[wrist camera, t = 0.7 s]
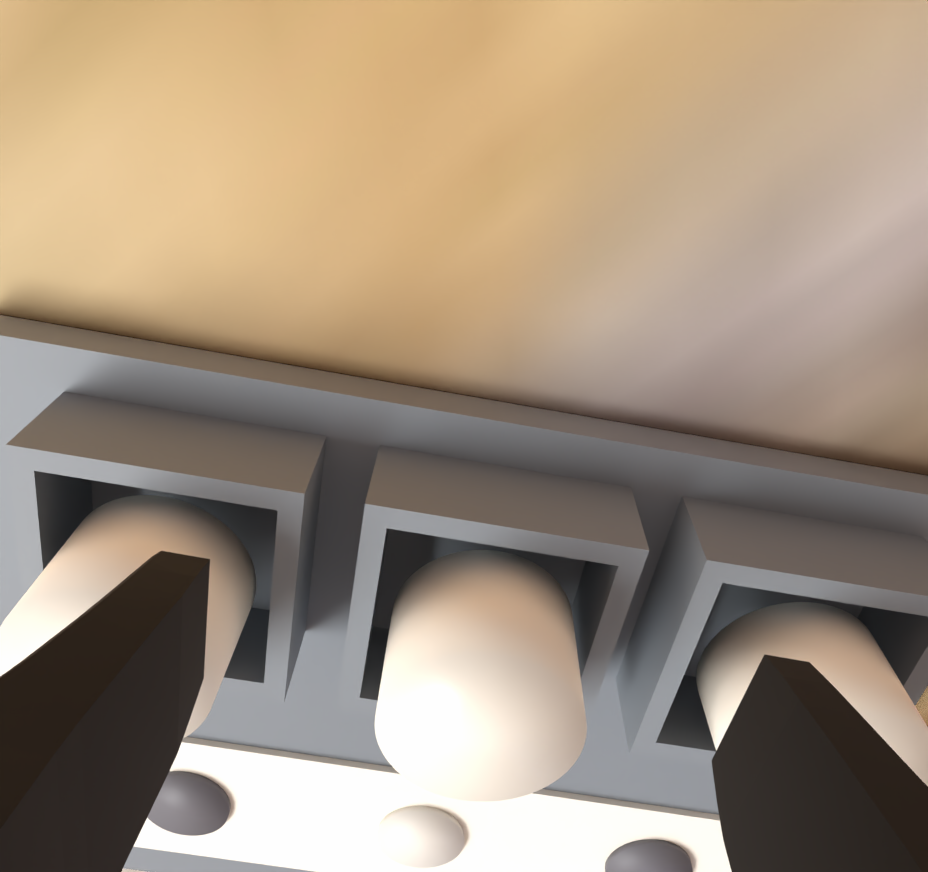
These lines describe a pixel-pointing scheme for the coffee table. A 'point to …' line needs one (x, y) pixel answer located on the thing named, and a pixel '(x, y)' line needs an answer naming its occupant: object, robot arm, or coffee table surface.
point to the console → (414, 545)
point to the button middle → (481, 679)
